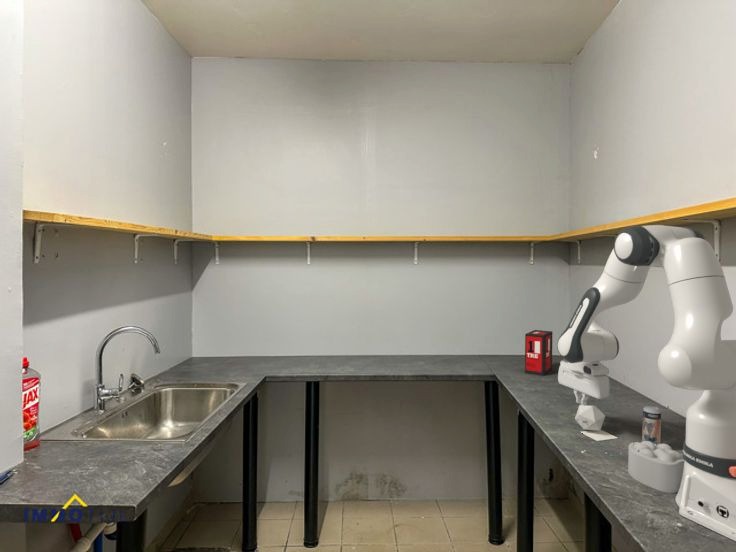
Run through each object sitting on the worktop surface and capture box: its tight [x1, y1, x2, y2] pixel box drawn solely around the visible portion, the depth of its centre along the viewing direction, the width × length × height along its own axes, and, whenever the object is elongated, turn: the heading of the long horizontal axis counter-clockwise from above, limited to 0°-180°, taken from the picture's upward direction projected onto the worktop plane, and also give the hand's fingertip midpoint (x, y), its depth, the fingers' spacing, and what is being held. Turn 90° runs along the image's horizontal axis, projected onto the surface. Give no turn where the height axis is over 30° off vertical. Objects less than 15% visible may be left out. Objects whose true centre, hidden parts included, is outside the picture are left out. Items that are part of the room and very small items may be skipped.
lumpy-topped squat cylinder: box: [627, 441, 684, 494], centre depth 115 cm, size 10×13×9 cm
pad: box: [580, 429, 619, 442], centre depth 143 cm, size 8×8×1 cm
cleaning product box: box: [524, 329, 553, 377], centre depth 226 cm, size 16×9×20 cm, turn 143°
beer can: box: [641, 405, 662, 445], centre depth 134 cm, size 5×5×12 cm
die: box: [574, 404, 606, 431], centre depth 147 cm, size 8×9×10 cm
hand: (581, 404), depth 150 cm, fingers closed
